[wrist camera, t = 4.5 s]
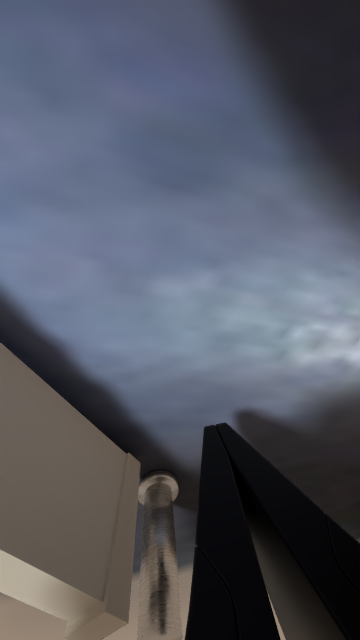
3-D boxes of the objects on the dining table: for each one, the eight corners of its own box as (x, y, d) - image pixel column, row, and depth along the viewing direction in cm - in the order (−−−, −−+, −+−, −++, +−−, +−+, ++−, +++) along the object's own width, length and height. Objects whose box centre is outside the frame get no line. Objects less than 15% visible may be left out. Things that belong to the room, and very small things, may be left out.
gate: (-58, 334, 7) (-420, 443, 3) (-29, 311, 7) (-351, 385, 3) (119, 478, 10) (90, 648, 6) (141, 463, 10) (130, 624, 6)
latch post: (162, 463, 11) (167, 613, 6) (185, 485, 12) (205, 635, 7) (129, 485, 11) (109, 649, 6) (154, 505, 12) (153, 667, 7)
